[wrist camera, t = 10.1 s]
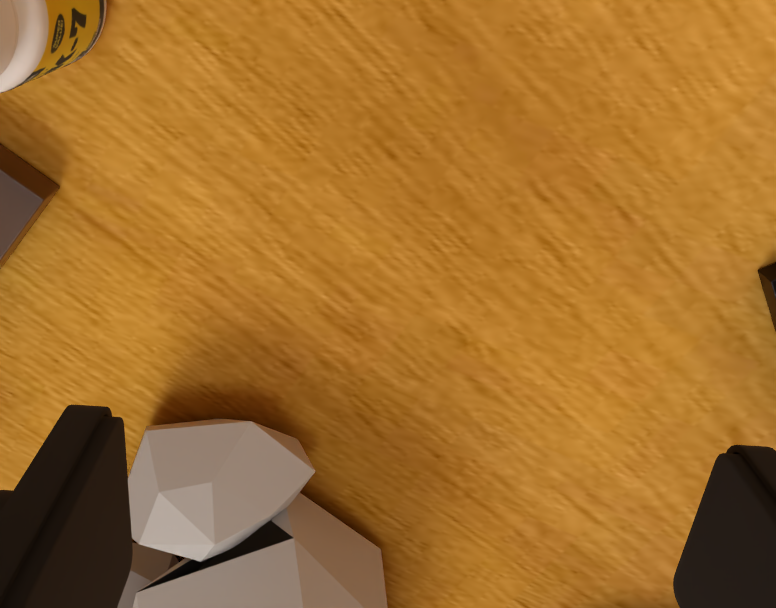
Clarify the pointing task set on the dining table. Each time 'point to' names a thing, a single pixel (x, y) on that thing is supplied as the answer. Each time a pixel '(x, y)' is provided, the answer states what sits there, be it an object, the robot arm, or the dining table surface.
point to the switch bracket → (769, 288)
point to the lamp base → (20, 200)
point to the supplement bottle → (45, 36)
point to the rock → (238, 525)
